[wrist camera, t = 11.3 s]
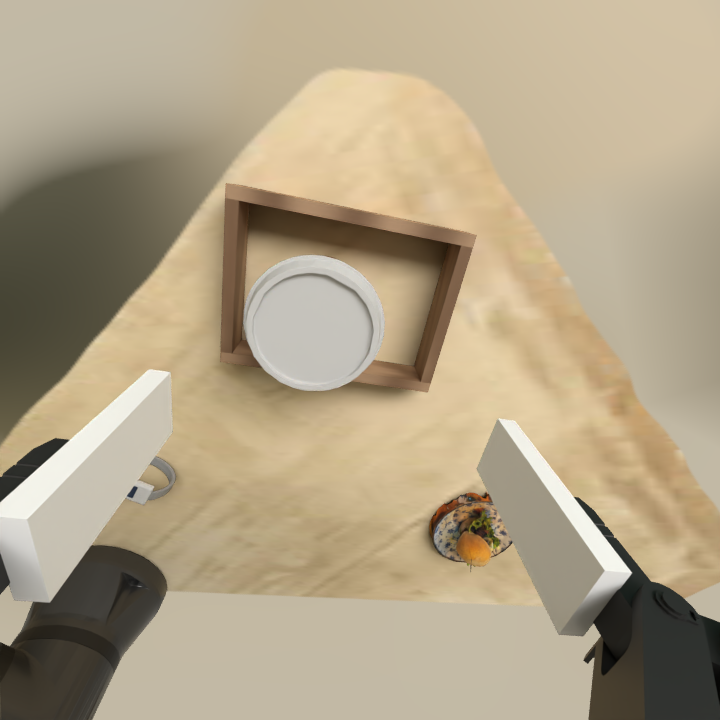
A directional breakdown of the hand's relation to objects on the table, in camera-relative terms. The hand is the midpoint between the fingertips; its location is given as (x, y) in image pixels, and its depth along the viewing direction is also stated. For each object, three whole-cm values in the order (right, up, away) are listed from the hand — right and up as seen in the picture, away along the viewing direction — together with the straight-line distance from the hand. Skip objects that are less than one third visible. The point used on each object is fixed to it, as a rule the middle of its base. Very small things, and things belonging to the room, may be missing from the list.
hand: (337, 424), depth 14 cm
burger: (+16, -20, +34) cm, 43 cm away
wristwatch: (-23, -9, +27) cm, 37 cm away
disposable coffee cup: (-3, +9, +20) cm, 22 cm away
